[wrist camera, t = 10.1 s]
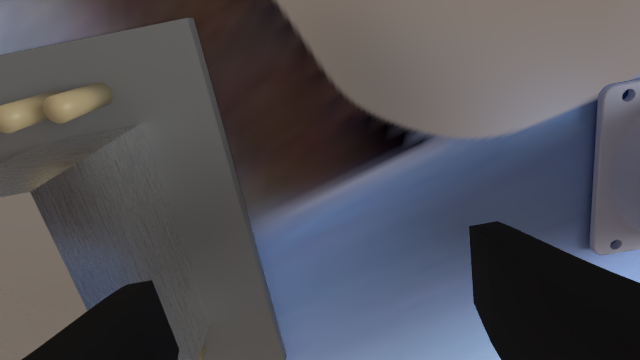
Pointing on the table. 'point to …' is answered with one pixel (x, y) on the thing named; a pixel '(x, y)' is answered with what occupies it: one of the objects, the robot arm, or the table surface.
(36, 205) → the block
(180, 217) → the tray
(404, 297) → the table surface
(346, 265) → the table surface
